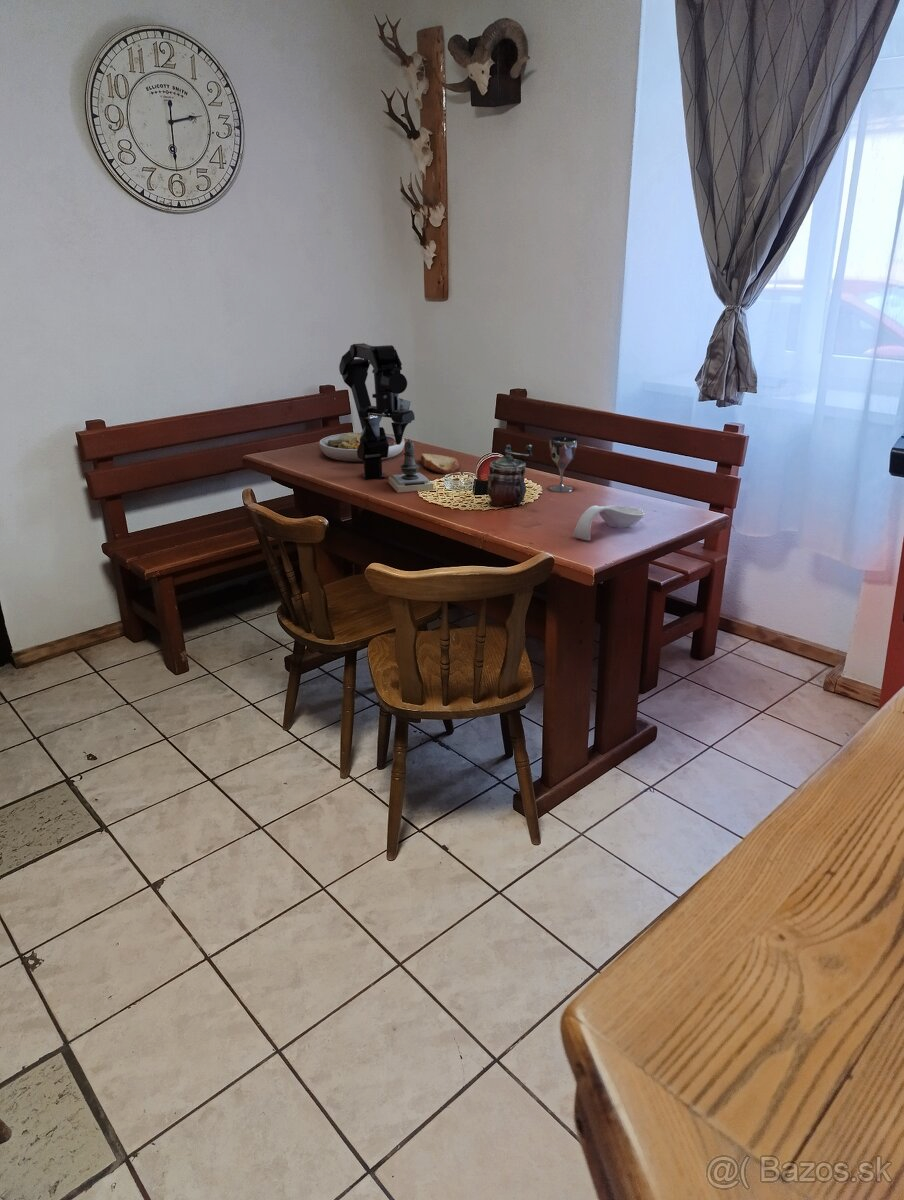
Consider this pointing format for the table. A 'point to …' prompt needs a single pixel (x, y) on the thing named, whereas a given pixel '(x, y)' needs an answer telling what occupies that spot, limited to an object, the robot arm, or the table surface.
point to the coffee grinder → (507, 479)
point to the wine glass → (562, 457)
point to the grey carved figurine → (409, 463)
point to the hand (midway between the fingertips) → (388, 442)
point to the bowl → (353, 446)
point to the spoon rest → (607, 518)
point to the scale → (410, 483)
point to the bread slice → (439, 463)
